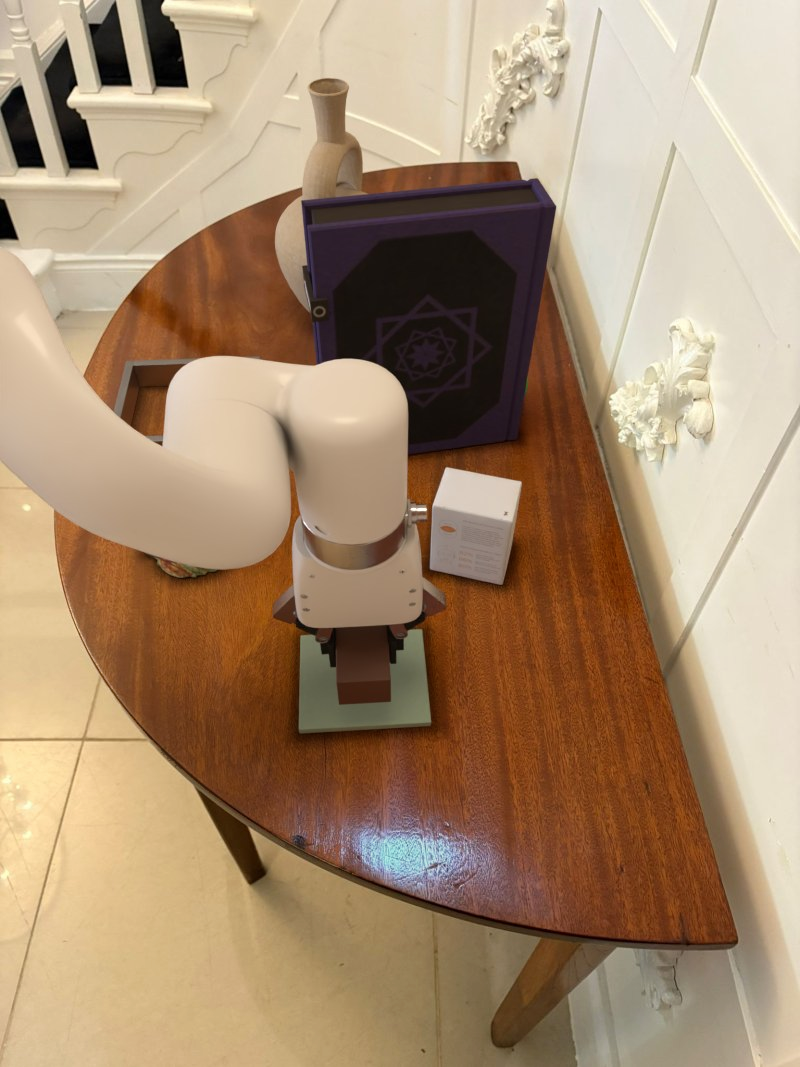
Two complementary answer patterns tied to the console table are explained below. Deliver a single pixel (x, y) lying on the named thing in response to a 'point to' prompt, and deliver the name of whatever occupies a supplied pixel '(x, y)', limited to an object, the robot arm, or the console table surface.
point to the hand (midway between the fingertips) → (362, 650)
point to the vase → (320, 177)
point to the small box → (473, 525)
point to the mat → (328, 716)
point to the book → (434, 298)
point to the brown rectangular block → (363, 665)
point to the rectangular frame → (146, 384)
